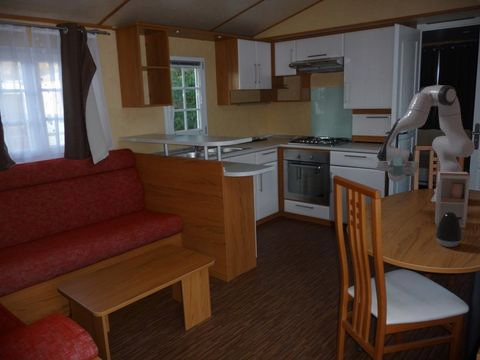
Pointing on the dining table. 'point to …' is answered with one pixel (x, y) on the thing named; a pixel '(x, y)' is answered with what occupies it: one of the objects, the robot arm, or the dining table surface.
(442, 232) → the black roly-poly toy
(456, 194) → the terracotta jar
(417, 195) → the dining table surface
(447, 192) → the shelf unit
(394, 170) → the long teal rectangular block
